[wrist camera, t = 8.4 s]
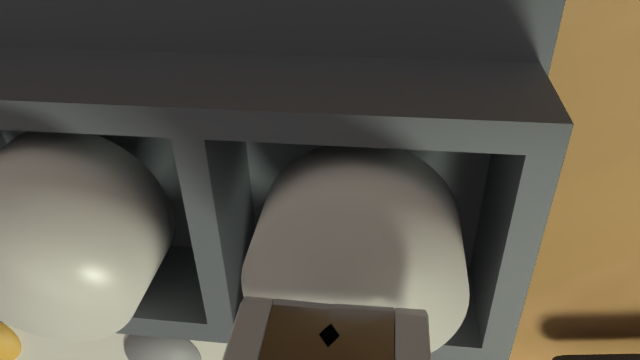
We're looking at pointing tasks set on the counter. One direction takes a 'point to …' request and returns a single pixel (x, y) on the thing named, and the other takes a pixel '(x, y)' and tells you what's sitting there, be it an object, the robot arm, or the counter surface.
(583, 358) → the walkie-talkie
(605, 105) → the counter surface
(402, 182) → the button
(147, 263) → the middle button
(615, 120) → the counter surface
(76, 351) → the pattern board
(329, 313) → the robot arm
